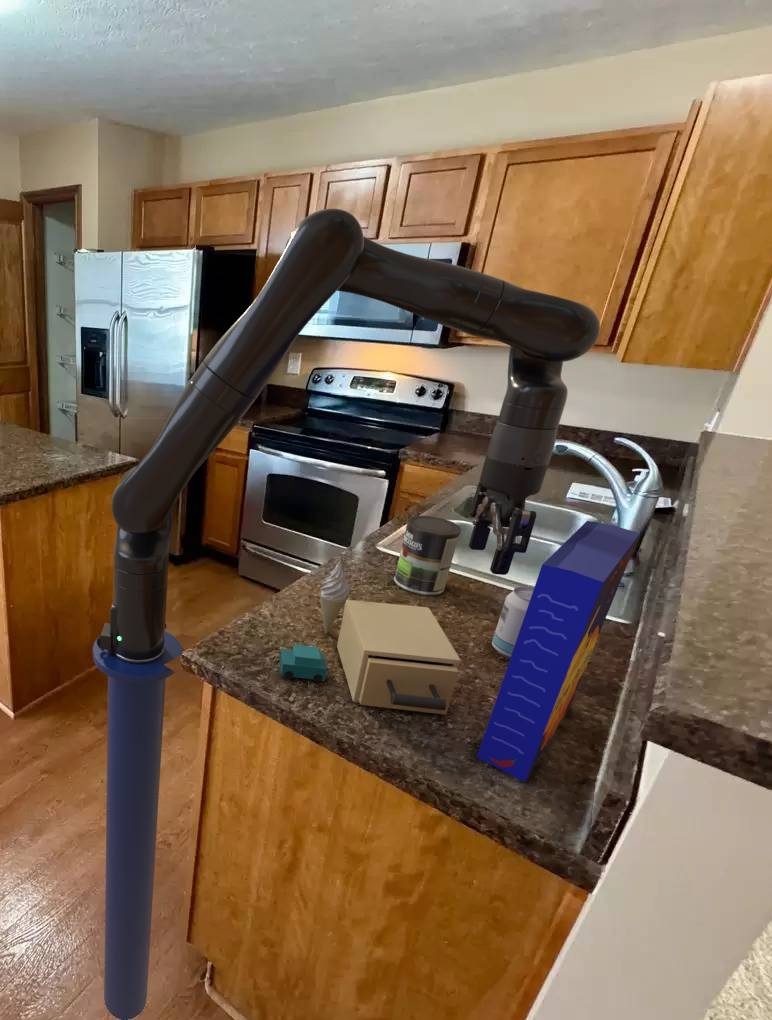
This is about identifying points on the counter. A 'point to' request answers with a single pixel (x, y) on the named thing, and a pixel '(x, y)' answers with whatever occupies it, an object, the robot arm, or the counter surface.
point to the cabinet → (389, 638)
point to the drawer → (408, 684)
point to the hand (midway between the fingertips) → (486, 560)
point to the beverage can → (511, 620)
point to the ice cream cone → (333, 595)
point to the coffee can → (426, 554)
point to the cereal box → (555, 644)
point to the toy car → (303, 663)
